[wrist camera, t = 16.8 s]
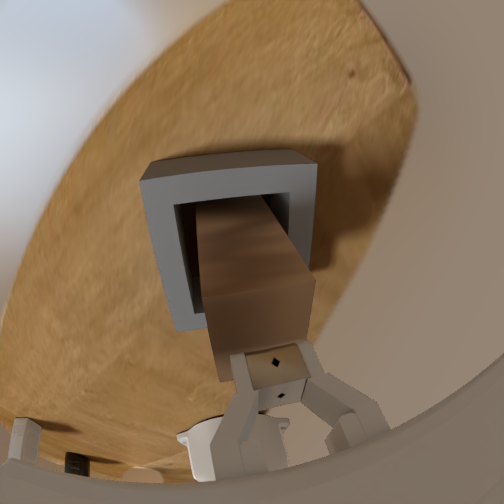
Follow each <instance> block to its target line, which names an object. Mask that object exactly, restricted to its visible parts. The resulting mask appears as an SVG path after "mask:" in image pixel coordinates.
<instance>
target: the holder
mask: <svg viewBox="0 0 504 504" xmlns="http://www.w3.org/2000/svg"><path fill="white" fill-rule="evenodd" d="M317 165H318V164H317V163H316V162H314V161H312V160H310V159H309V158H307V157H305V156H304V155H302V154H300V153H298V152H297V151H295V150H293V149H277V150H257V151H242V152H229V153H218V154H209V155H200V156H191V157H183V158H176V159H169V160H162V161H156V162H151V163H150V164H149V166H148V168H147V169H146V171H145V172H144V174H143V176H142V177H141V179H140V181H139V182H140V187H141V193H142V198H143V203H144V208H145V213H146V218H147V223H148V228H149V232H150V237H151V241H152V245H153V249H154V254H155V258H156V262H157V266H158V269H159V273H160V277H161V281H162V284H163V288H164V291H165V295H166V298H167V302H168V305H169V309H170V312H171V315H172V318H173V322H174V325H175V328H176V331H177V332H179V331H188V330H196V329H204V328H208V327H207V322H206V317H205V312H204V307H203V302H202V295H201V284H200V276H197V277H192V272H191V267H190V262H189V256H188V250H187V244H186V238H185V232H184V226H183V220H182V213H181V206H180V204H182V203H189V202H197V201H205V200H213V199H222V198H231V197H240V196H250V195H261V194H270V210H271V211H272V213H273V214H274V216H275V217H276V219H277V220H278V222H279V223H280V225H281V226H282V228H283V230H284V231H285V233H286V234H287V236H288V237H289V239H290V240H291V242H292V243H293V245H294V246H295V248H296V250H297V251H298V253H299V254H300V256H301V257H302V259H303V261H304V262H305V264H306V265H307V267H308V269H309V264H310V255H311V245H312V234H313V223H314V211H315V198H316V182H317Z"/></svg>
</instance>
